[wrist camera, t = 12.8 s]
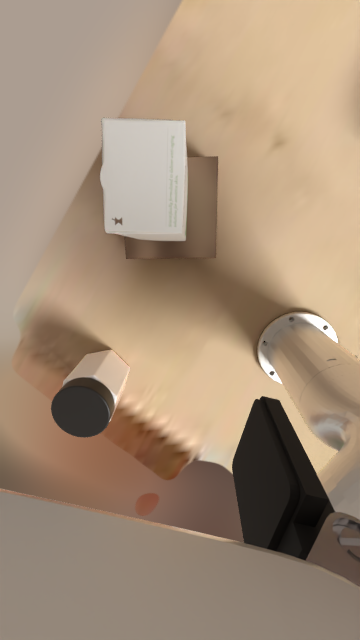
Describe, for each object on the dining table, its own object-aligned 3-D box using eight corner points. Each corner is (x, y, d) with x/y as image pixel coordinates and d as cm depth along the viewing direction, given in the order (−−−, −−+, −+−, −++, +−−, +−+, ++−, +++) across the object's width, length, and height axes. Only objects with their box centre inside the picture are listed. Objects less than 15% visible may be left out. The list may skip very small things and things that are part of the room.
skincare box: (185, 241, 38) (185, 240, 23) (135, 239, 38) (101, 237, 23) (188, 171, 36) (190, 117, 21) (134, 169, 36) (97, 114, 21)
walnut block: (214, 166, 41) (218, 156, 35) (212, 254, 44) (215, 257, 39) (129, 168, 41) (119, 158, 36) (134, 255, 45) (126, 258, 39)
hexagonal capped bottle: (71, 367, 51) (35, 408, 39) (103, 339, 49) (75, 372, 37) (108, 402, 52) (84, 450, 41) (140, 375, 50) (124, 418, 39)
